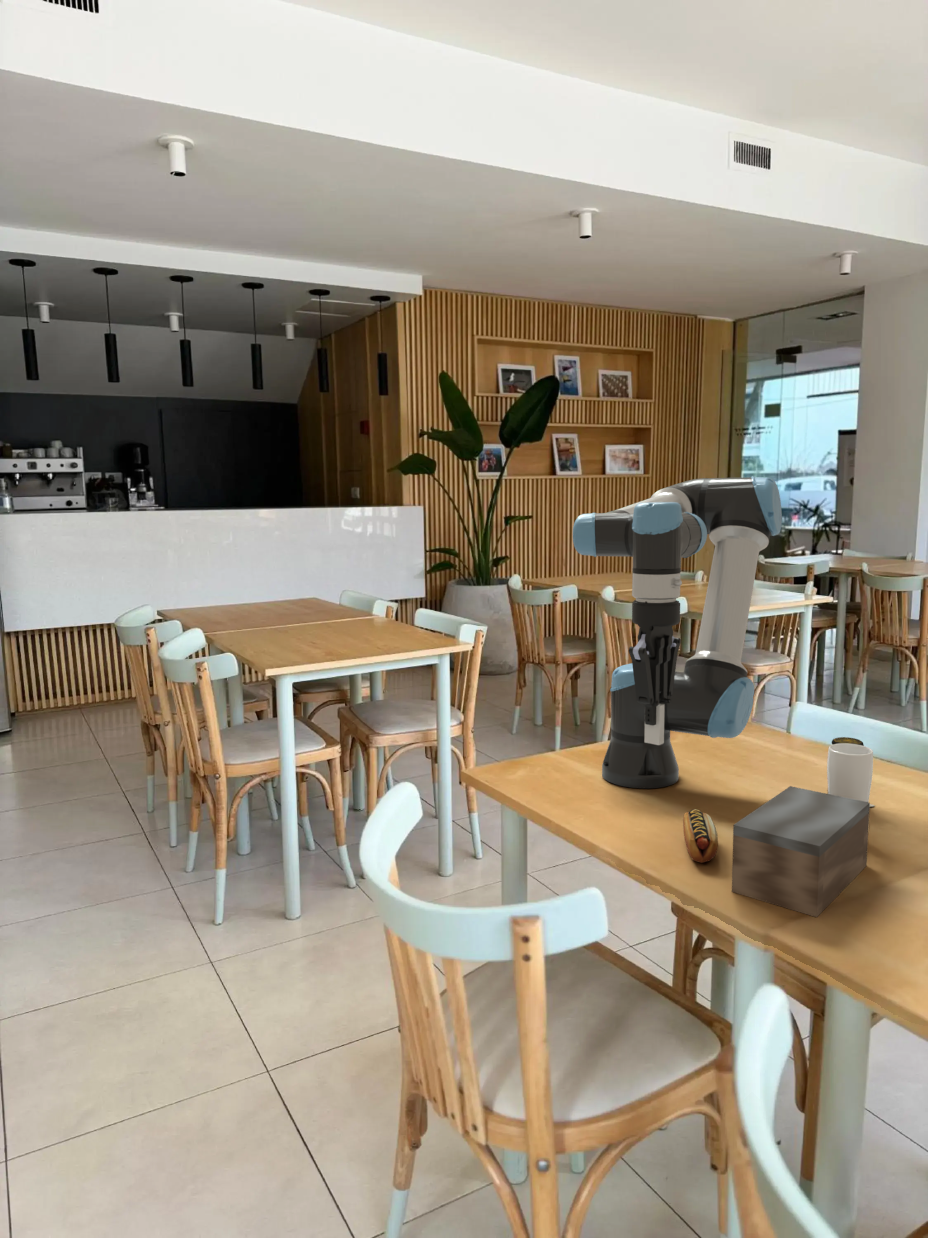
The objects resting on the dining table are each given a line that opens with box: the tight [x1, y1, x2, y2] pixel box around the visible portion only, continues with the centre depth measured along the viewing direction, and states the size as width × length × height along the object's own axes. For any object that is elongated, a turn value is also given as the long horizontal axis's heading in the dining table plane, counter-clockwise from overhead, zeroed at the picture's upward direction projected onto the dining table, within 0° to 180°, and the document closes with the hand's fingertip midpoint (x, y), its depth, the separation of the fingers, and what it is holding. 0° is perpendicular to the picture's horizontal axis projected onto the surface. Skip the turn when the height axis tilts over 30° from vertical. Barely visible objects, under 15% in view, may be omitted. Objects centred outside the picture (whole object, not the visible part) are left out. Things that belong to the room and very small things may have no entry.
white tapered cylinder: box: [826, 743, 874, 803], centre depth 142 cm, size 7×7×15 cm
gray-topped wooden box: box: [731, 785, 871, 918], centre depth 128 cm, size 12×21×10 cm, turn 139°
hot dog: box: [682, 808, 719, 863], centre depth 138 cm, size 5×13×5 cm, turn 170°
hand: (654, 742), depth 142 cm, fingers closed
